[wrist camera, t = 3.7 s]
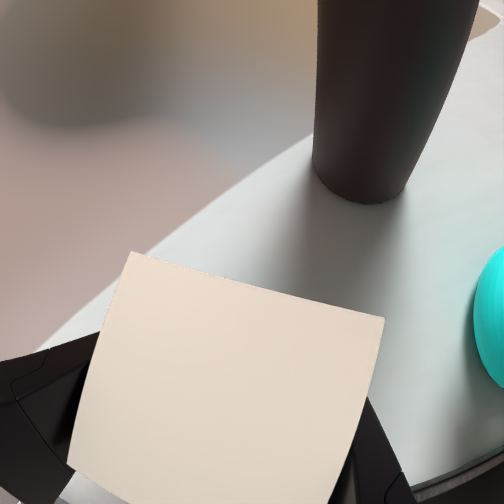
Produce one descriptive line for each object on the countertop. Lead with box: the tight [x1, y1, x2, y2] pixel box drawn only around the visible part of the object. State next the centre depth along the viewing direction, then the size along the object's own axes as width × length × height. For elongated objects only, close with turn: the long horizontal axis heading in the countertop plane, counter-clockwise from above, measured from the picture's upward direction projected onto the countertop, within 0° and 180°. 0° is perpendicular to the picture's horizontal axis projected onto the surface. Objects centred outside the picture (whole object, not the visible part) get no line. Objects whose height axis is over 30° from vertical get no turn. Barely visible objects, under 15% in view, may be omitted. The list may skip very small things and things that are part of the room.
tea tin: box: [67, 251, 385, 504], centre depth 10 cm, size 6×6×10 cm
